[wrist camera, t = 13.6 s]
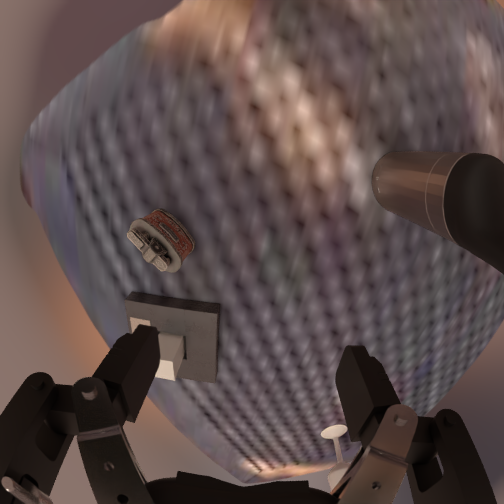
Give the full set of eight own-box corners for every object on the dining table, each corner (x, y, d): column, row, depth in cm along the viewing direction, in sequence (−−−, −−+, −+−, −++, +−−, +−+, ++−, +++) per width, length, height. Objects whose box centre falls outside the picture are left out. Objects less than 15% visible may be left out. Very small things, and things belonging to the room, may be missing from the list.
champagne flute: (352, 428, 53) (371, 508, 30) (331, 441, 55) (345, 517, 32) (337, 421, 52) (355, 508, 29) (315, 434, 53) (326, 517, 31)
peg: (186, 327, 44) (172, 361, 35) (187, 345, 45) (174, 380, 36) (164, 324, 44) (146, 356, 35) (166, 342, 45) (150, 375, 36)
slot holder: (220, 303, 42) (217, 314, 39) (217, 372, 47) (215, 383, 44) (132, 291, 42) (124, 300, 39) (141, 358, 47) (136, 369, 44)
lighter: (200, 242, 39) (181, 269, 29) (185, 257, 40) (163, 286, 30) (161, 203, 37) (131, 217, 28) (147, 219, 38) (115, 237, 28)
